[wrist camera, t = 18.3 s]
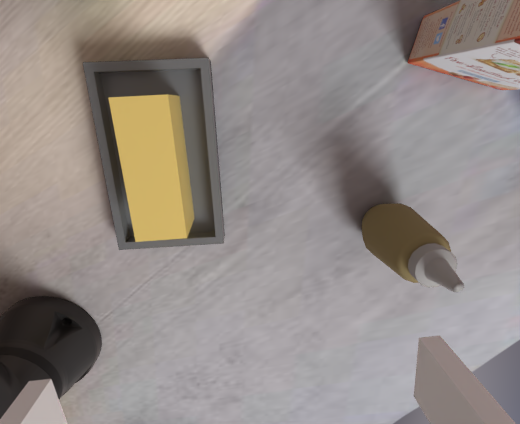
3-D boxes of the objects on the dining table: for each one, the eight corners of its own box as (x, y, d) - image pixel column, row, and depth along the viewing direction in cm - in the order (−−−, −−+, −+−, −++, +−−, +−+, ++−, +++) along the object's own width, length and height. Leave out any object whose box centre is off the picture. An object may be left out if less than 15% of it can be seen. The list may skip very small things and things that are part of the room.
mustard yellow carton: (150, 221, 45) (135, 241, 38) (129, 98, 40) (108, 97, 33) (194, 218, 45) (187, 238, 39) (179, 95, 40) (167, 94, 34)
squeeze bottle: (405, 190, 47) (500, 239, 30) (409, 240, 50) (499, 312, 33) (350, 203, 47) (413, 260, 30) (357, 252, 50) (419, 330, 33)
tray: (126, 240, 47) (119, 249, 44) (93, 65, 39) (82, 62, 37) (224, 234, 47) (223, 243, 45) (210, 61, 40) (208, 57, 37)
